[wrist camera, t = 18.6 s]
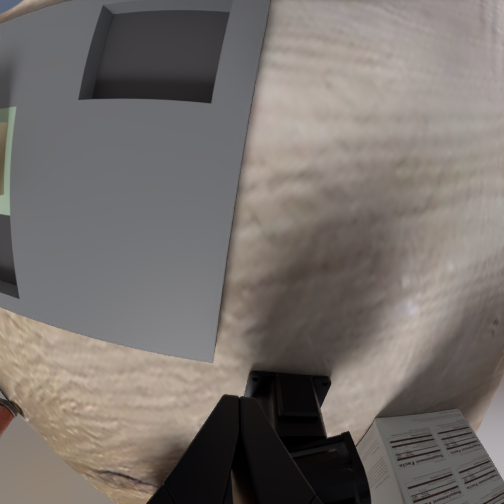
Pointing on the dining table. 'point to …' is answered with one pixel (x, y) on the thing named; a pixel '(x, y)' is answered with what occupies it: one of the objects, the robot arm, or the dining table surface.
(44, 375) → the dining table surface
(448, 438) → the supplement box
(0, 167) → the maple block
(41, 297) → the board
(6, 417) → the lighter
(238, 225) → the dining table surface
